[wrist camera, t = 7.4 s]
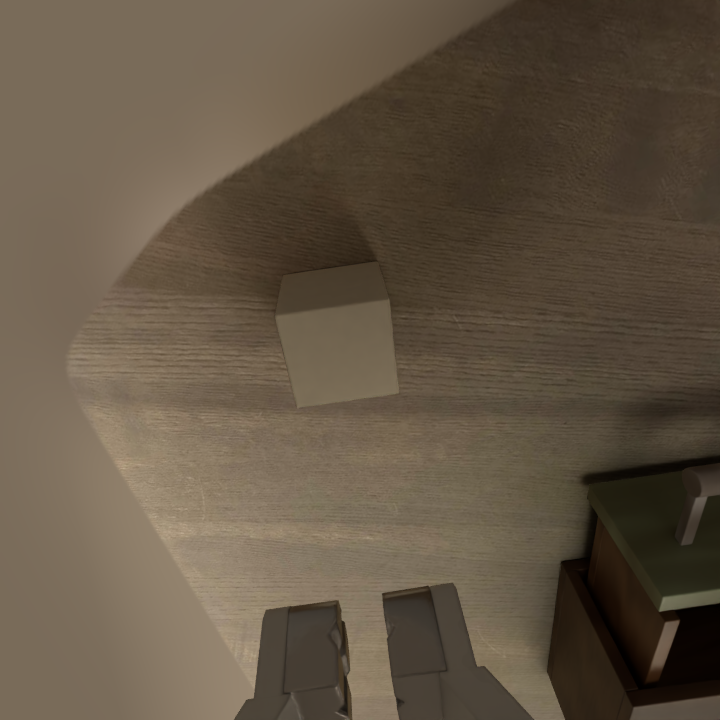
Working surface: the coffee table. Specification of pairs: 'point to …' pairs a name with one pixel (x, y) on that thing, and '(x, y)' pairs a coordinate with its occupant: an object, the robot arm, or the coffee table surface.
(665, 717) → the cabinet
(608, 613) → the drawer
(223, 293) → the coffee table surface
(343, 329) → the block
